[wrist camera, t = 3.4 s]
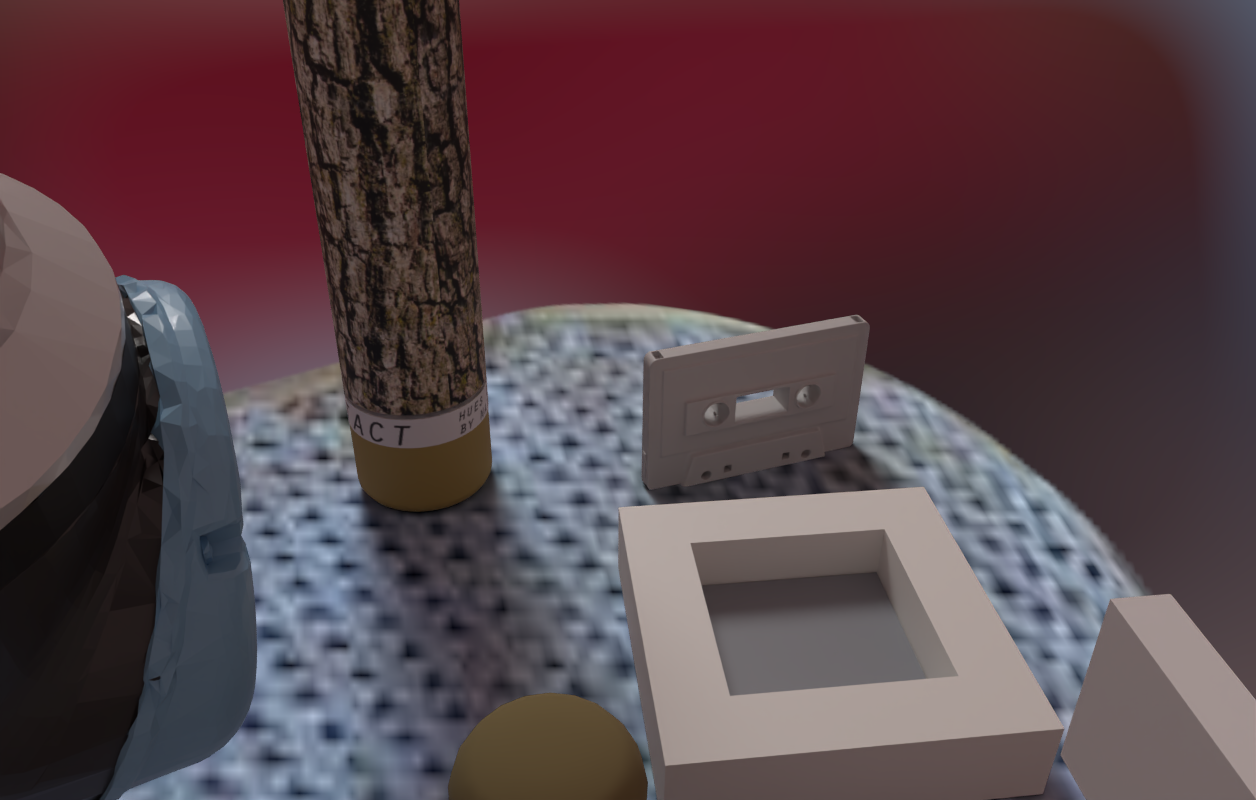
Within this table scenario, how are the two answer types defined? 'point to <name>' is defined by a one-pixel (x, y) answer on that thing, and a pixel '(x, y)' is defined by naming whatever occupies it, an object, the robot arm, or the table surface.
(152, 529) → the robot arm
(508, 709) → the cork
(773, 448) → the cassette
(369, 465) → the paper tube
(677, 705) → the socket block
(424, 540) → the table surface
